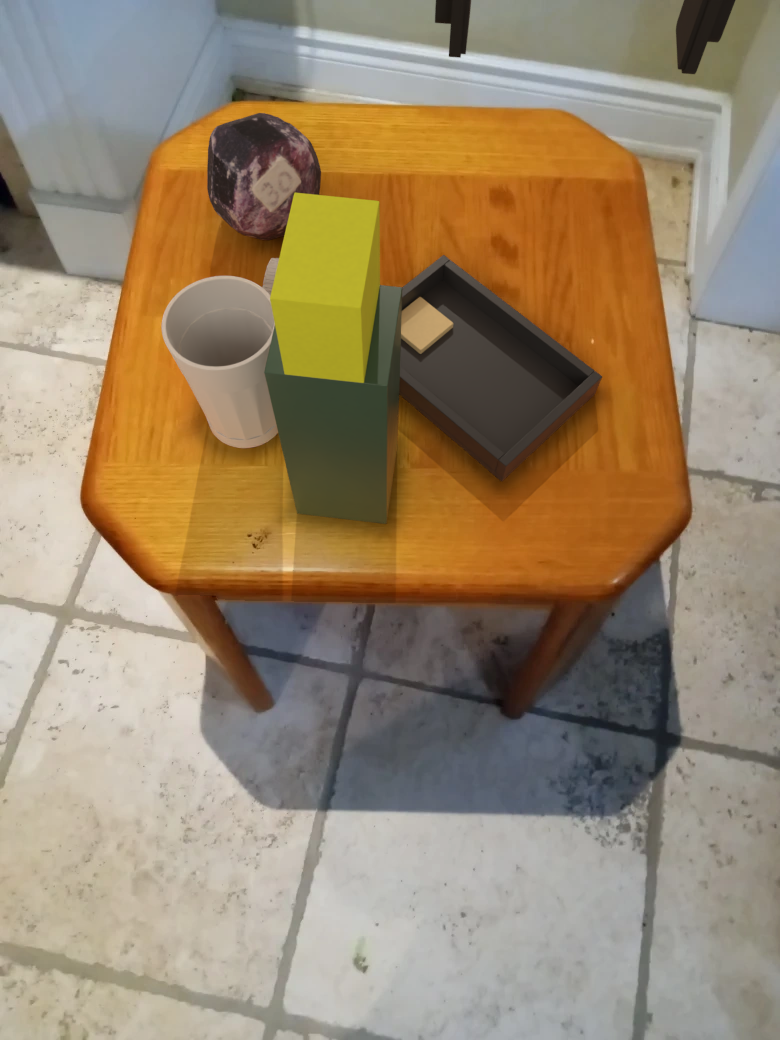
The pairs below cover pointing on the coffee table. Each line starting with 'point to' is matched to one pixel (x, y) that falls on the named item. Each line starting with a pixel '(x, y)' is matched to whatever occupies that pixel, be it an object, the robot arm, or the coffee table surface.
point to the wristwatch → (270, 275)
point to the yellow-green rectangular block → (327, 286)
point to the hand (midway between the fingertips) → (571, 44)
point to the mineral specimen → (259, 173)
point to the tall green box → (343, 426)
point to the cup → (225, 355)
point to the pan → (489, 372)
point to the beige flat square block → (423, 325)
